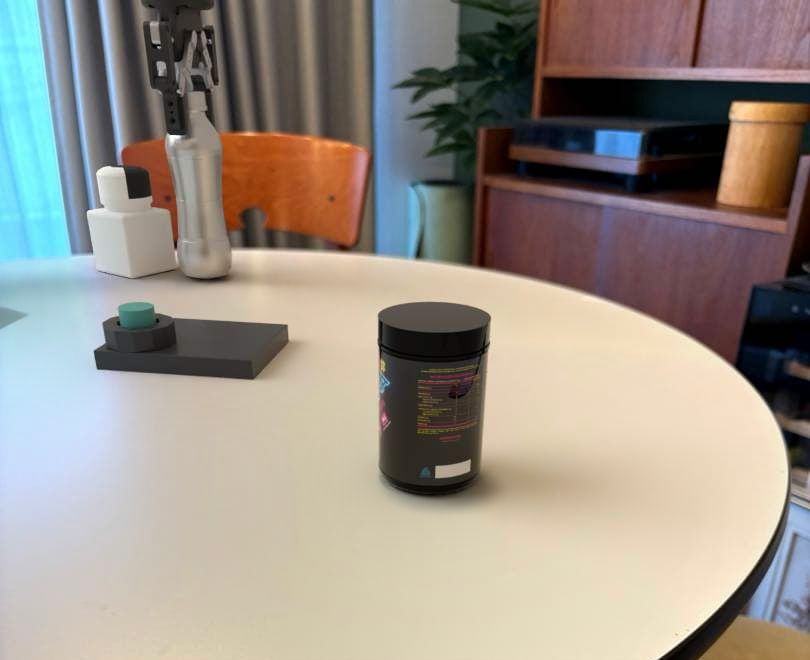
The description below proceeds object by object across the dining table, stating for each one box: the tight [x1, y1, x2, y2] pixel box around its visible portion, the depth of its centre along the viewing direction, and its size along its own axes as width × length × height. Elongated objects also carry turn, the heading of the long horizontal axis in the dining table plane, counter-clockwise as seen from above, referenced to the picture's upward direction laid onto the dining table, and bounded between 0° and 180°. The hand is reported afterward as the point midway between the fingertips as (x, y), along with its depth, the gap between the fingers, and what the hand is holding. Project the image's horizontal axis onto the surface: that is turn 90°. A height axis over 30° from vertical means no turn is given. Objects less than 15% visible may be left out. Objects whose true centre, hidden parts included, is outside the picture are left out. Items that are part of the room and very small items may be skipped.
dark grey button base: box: [93, 312, 290, 381], centre depth 74 cm, size 14×11×4 cm
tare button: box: [117, 301, 157, 328], centre depth 71 cm, size 3×3×2 cm
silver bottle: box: [164, 90, 233, 280], centre depth 96 cm, size 6×7×20 cm
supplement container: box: [376, 301, 492, 495], centre depth 51 cm, size 7×7×10 cm
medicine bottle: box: [86, 164, 177, 279], centre depth 101 cm, size 7×7×12 cm
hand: (192, 132), depth 93 cm, fingers open, 7 cm apart
